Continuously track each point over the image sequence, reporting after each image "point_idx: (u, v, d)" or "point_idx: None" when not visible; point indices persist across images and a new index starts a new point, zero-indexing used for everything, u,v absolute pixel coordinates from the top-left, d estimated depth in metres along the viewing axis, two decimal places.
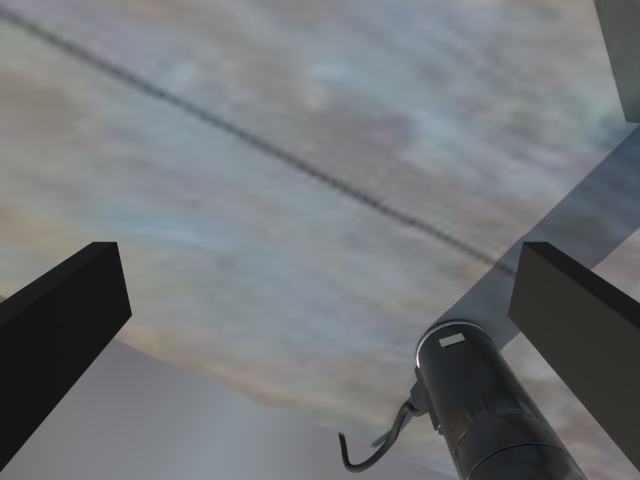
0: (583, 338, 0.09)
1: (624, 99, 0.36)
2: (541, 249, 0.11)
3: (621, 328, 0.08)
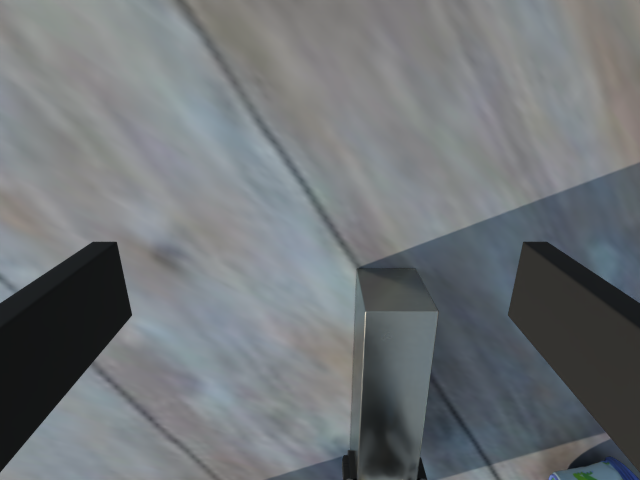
0: (583, 338, 0.09)
1: (350, 437, 0.48)
2: (541, 249, 0.11)
3: (621, 328, 0.08)
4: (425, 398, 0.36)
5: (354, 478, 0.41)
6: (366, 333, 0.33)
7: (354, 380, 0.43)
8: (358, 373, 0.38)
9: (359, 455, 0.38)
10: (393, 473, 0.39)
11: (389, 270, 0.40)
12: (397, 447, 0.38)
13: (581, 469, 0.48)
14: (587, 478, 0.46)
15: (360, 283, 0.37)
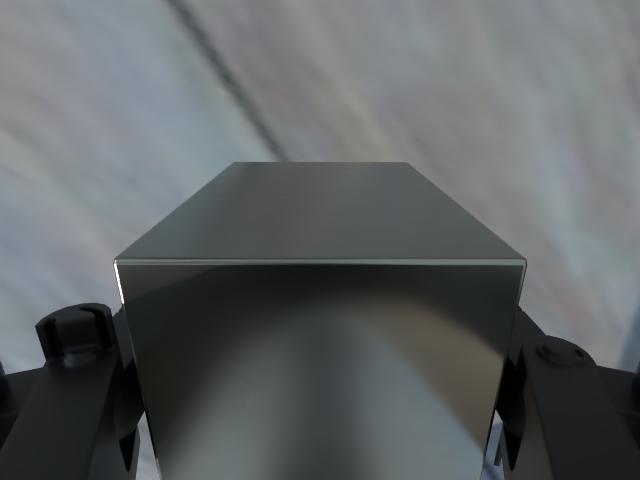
0: None
1: None
2: None
3: None
4: None
5: None
6: (144, 378, 0.06)
7: None
8: None
9: None
10: None
11: (327, 164, 0.13)
12: None
13: None
14: None
15: (208, 183, 0.10)
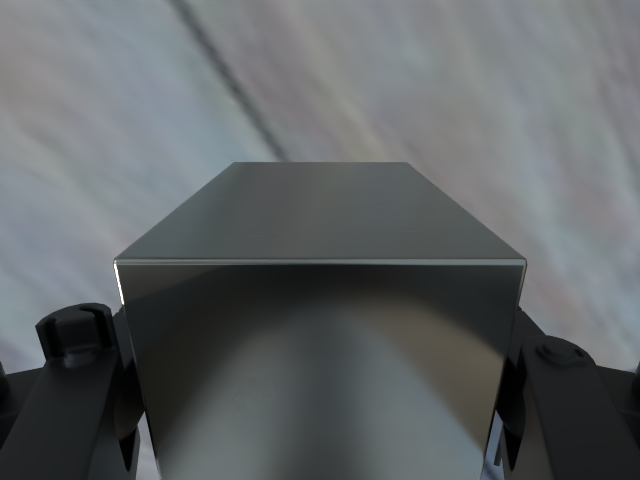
0: None
1: None
2: None
3: None
4: None
5: None
6: (144, 378, 0.06)
7: None
8: None
9: None
10: None
11: (327, 164, 0.13)
12: None
13: None
14: None
15: (208, 183, 0.10)
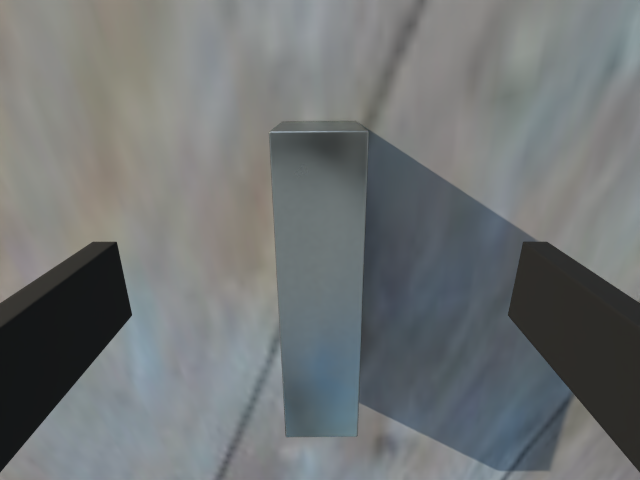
0: (583, 338, 0.09)
1: None
2: (541, 249, 0.11)
3: (621, 328, 0.08)
4: (360, 268, 0.27)
5: None
6: (272, 166, 0.25)
7: None
8: None
9: (282, 353, 0.30)
10: (328, 378, 0.31)
11: (322, 121, 0.31)
12: (330, 341, 0.29)
13: None
14: None
15: (278, 125, 0.29)
